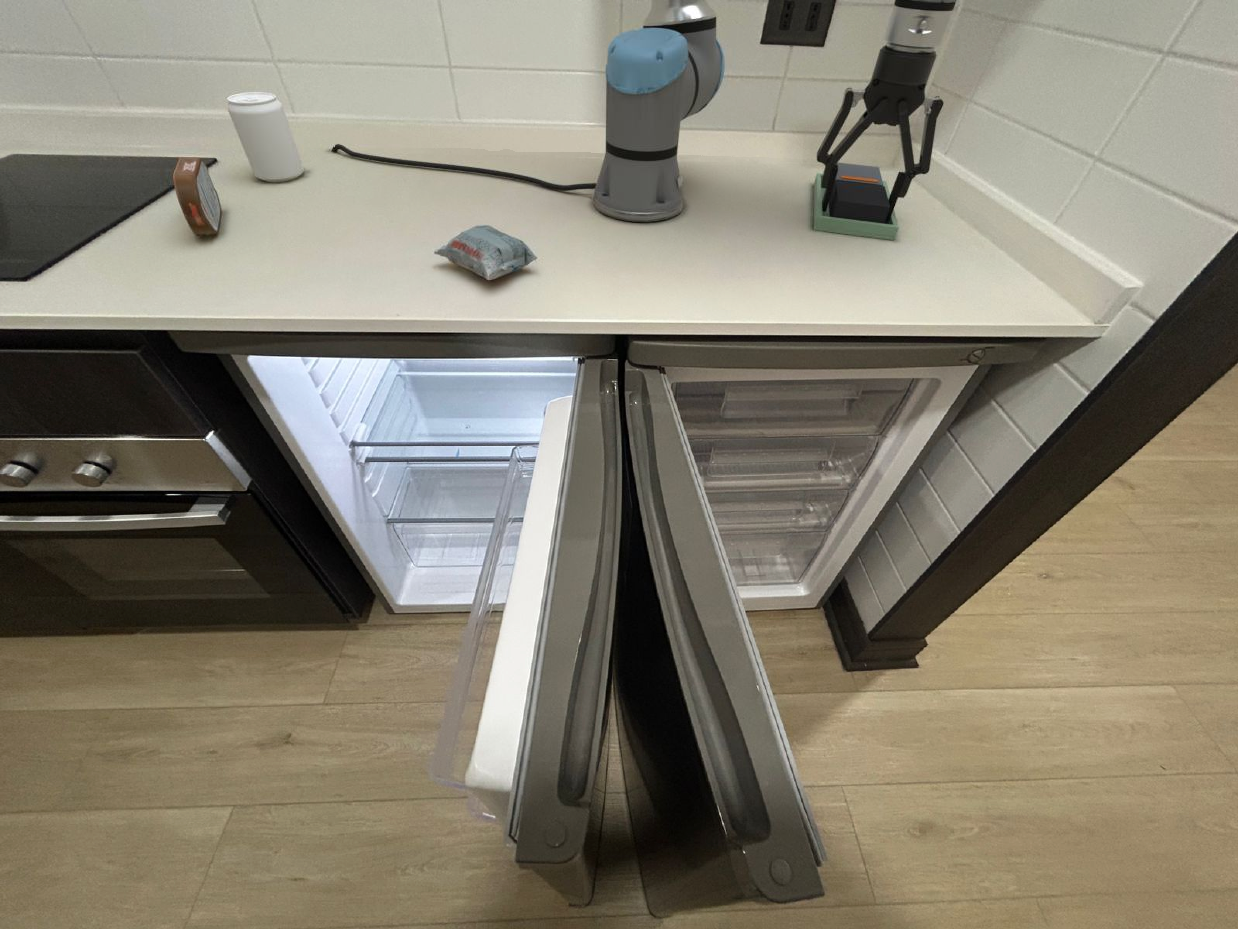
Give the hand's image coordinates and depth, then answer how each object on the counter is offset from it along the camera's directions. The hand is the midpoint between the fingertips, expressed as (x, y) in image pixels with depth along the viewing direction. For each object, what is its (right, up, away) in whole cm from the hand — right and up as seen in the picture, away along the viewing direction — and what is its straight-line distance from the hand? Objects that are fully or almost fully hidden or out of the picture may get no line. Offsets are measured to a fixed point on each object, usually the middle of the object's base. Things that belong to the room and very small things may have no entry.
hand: (854, 212), depth 92 cm
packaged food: (-58, -15, -15) cm, 62 cm away
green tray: (+1, +2, +4) cm, 5 cm away
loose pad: (0, -1, 0) cm, 1 cm away
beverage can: (-100, +9, +7) cm, 101 cm away
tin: (-101, -6, -8) cm, 102 cm away
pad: (+2, +6, +7) cm, 10 cm away
